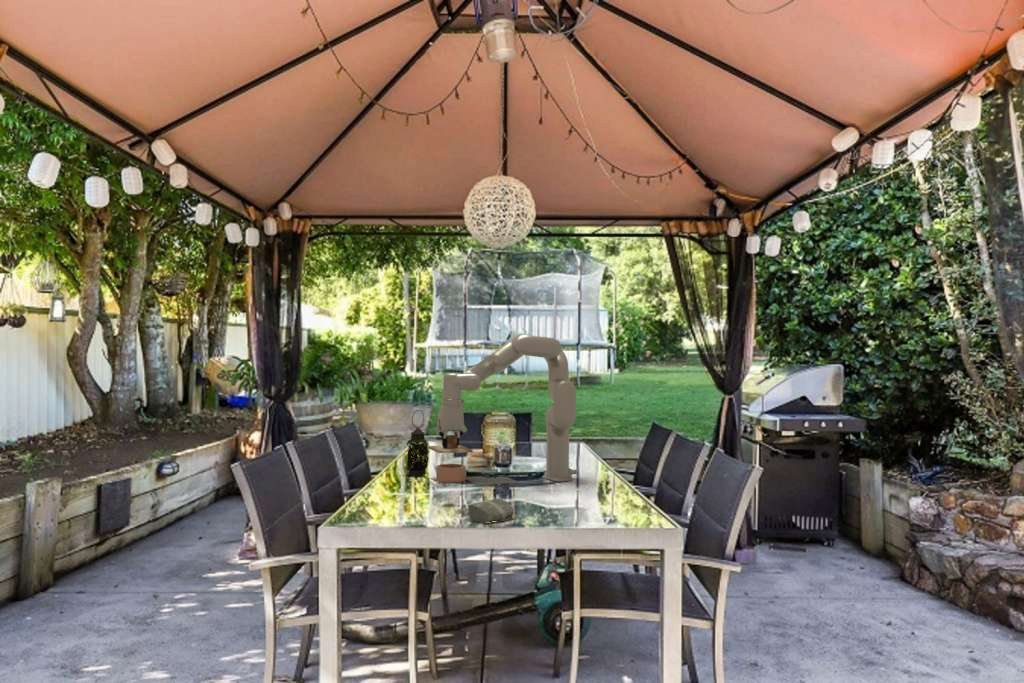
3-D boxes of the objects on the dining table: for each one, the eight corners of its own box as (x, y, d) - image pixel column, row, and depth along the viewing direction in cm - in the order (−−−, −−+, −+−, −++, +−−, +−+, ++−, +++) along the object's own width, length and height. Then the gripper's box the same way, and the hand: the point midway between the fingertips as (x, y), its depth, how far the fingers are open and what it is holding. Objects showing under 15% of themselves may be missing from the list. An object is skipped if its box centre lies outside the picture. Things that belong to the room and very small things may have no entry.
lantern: (417, 472, 317) (418, 408, 317) (432, 475, 312) (433, 410, 312) (401, 475, 309) (402, 410, 309) (417, 478, 304) (418, 411, 304)
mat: (501, 477, 308) (501, 474, 308) (519, 484, 292) (519, 482, 292) (462, 479, 301) (462, 477, 301) (478, 487, 285) (478, 485, 285)
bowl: (458, 478, 303) (459, 463, 303) (468, 483, 293) (468, 467, 293) (433, 480, 298) (434, 464, 298) (442, 485, 288) (442, 468, 288)
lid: (460, 447, 305) (460, 433, 305) (472, 452, 292) (473, 437, 292) (428, 448, 299) (429, 434, 299) (439, 453, 286) (440, 438, 286)
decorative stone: (494, 514, 241) (494, 496, 241) (518, 519, 234) (518, 500, 234) (467, 521, 230) (468, 502, 231) (491, 526, 224) (492, 506, 224)
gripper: (467, 402, 303) (466, 446, 303) (429, 402, 296) (427, 447, 296) (474, 403, 296) (472, 448, 296) (435, 403, 289) (433, 449, 289)
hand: (450, 447), depth 296 cm, fingers closed on lid, 4 cm apart
